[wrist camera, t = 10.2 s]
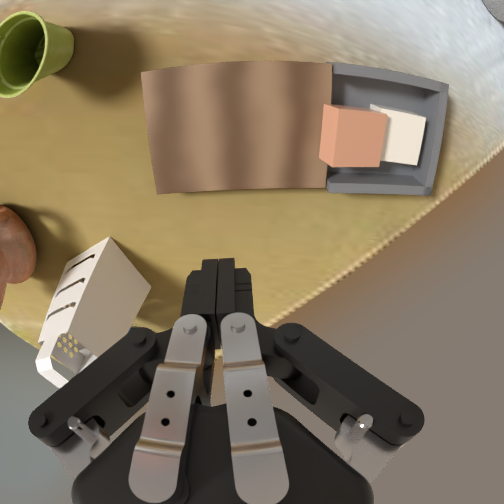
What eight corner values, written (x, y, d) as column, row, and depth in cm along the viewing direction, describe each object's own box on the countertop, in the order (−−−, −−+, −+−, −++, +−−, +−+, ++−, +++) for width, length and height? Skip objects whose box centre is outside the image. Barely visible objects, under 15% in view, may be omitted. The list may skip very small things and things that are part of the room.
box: (430, 79, 27) (448, 84, 24) (415, 182, 36) (430, 195, 33) (326, 62, 27) (337, 62, 24) (320, 179, 36) (329, 192, 32)
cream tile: (413, 112, 30) (426, 117, 27) (405, 156, 33) (416, 165, 31) (370, 103, 29) (381, 108, 27) (363, 151, 33) (373, 159, 30)
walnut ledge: (324, 63, 27) (332, 64, 25) (319, 177, 36) (325, 187, 33) (149, 71, 27) (140, 72, 25) (162, 183, 35) (157, 194, 33)
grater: (106, 305, 47) (71, 407, 31) (67, 262, 42) (12, 362, 26) (151, 286, 45) (121, 402, 29) (109, 236, 39) (51, 350, 23)
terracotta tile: (370, 108, 29) (387, 114, 26) (363, 157, 32) (378, 167, 30) (323, 103, 27) (338, 108, 25) (318, 157, 31) (332, 167, 28)
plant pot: (57, 2, 20) (14, -3, 13) (102, 37, 24) (63, 35, 17) (17, 62, 23) (-27, 72, 16) (57, 98, 27) (16, 114, 20)
